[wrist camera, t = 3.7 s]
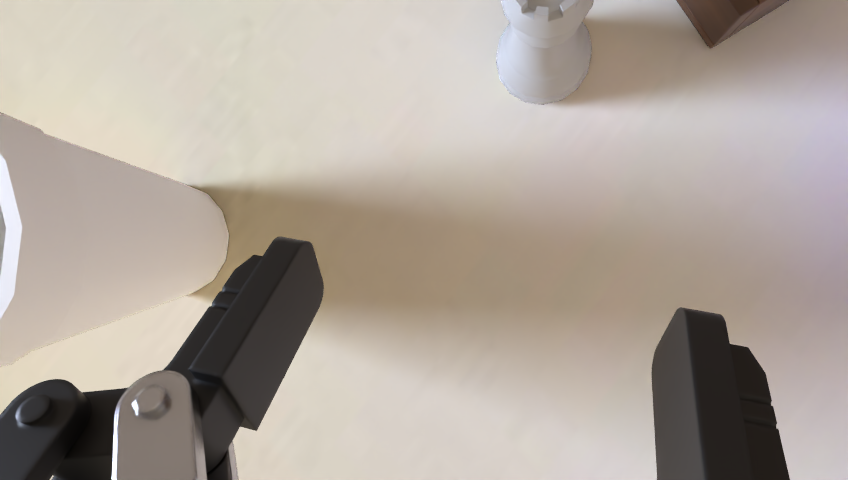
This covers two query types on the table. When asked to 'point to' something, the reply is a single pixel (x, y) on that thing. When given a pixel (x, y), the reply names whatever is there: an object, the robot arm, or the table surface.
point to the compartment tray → (725, 16)
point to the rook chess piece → (544, 48)
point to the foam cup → (92, 239)
